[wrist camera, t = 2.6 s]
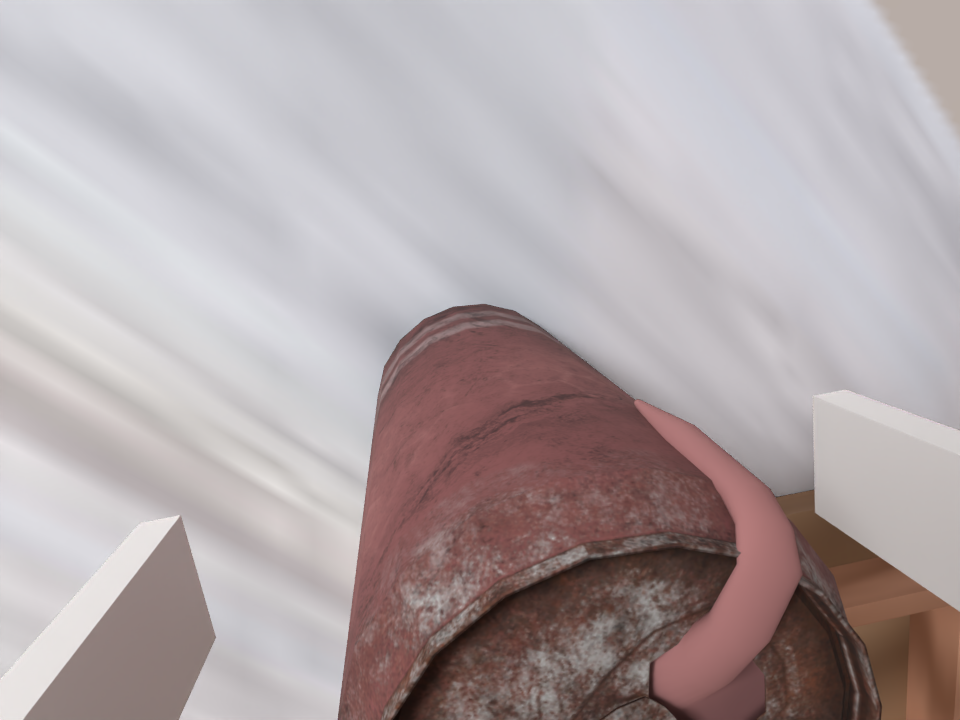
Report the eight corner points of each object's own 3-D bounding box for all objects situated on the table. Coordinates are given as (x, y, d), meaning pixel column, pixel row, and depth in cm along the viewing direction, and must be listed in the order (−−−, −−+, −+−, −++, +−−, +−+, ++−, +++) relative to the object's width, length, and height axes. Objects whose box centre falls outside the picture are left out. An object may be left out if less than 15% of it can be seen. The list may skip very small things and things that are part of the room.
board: (385, 576, 21) (383, 640, 17) (918, 468, 22) (1002, 508, 19) (449, 880, 24) (456, 978, 21) (907, 765, 26) (975, 839, 23)
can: (589, 318, 19) (1025, 549, 6) (536, 496, 21) (796, 1026, 7) (406, 272, 18) (422, 426, 5) (361, 462, 20) (273, 1014, 6)
